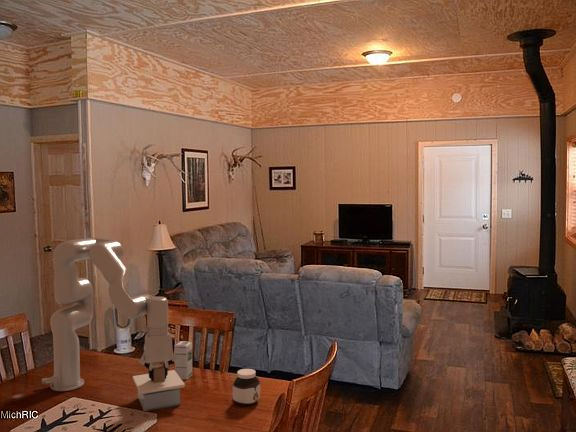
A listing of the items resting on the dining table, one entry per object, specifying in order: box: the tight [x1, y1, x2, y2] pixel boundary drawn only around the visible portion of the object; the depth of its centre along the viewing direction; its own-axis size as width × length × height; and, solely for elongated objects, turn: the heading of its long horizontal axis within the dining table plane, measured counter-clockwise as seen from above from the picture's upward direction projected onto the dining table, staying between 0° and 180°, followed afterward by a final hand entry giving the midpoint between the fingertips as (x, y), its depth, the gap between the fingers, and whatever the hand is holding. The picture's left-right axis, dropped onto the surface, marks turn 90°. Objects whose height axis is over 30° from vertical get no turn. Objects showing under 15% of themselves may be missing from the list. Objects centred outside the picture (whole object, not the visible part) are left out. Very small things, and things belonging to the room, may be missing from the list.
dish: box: [137, 388, 181, 412], centre depth 197 cm, size 13×13×6 cm
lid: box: [132, 364, 186, 394], centre depth 196 cm, size 16×16×6 cm
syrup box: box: [174, 340, 194, 380], centre depth 222 cm, size 6×6×14 cm
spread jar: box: [232, 368, 261, 407], centre depth 199 cm, size 12×11×12 cm
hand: (158, 378), depth 196 cm, fingers closed on lid, 4 cm apart
